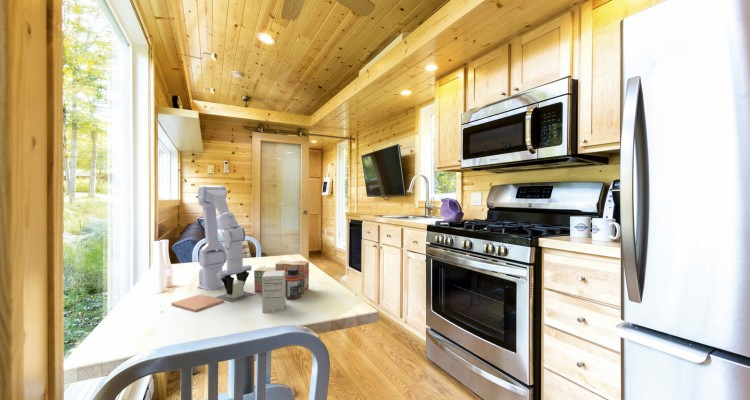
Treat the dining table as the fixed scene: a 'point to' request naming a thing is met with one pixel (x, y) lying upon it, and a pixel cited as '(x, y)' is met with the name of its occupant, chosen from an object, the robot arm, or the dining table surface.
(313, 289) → the dining table surface
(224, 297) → the mat
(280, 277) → the supplement box
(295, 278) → the supplement bottle
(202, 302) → the plate
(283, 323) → the dining table surface
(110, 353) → the dining table surface
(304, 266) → the stack of blocks
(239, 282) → the sage block
